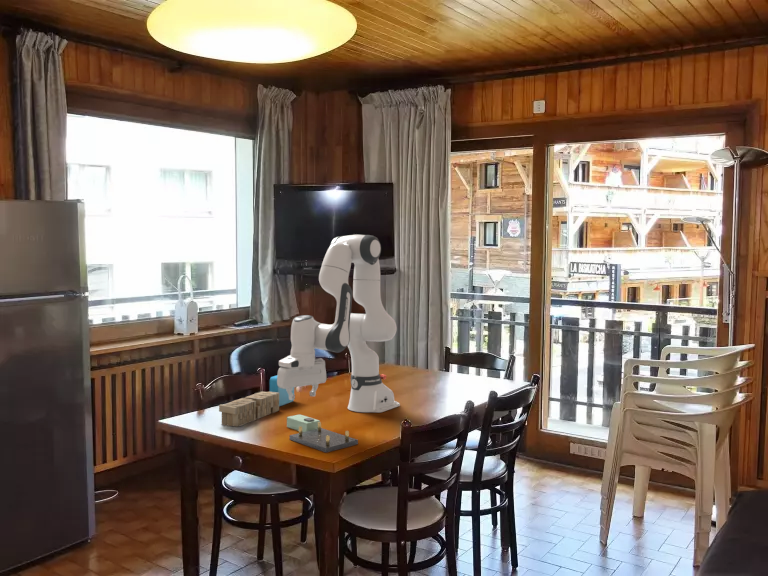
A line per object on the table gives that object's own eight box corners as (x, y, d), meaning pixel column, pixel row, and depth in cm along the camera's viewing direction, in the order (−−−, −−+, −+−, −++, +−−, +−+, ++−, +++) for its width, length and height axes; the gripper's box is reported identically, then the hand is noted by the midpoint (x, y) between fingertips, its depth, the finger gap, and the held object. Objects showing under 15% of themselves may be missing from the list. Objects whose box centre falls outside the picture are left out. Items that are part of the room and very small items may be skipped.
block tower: (263, 411, 292) (217, 425, 265) (263, 390, 291) (218, 403, 265) (279, 413, 288) (235, 428, 262) (280, 392, 288) (235, 405, 262)
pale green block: (299, 424, 268) (299, 412, 268) (319, 431, 260) (319, 418, 259) (286, 427, 264) (286, 415, 264) (306, 434, 256) (306, 421, 255)
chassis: (321, 432, 258) (321, 419, 257) (357, 444, 243) (358, 431, 243) (289, 439, 248) (289, 426, 248) (325, 452, 234) (326, 439, 233)
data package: (285, 399, 307) (285, 372, 306) (294, 401, 305) (294, 373, 304) (269, 405, 296) (269, 377, 295) (278, 407, 294) (278, 378, 293)
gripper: (319, 356, 269) (319, 392, 270) (274, 361, 255) (274, 400, 256) (330, 358, 265) (329, 395, 266) (285, 364, 251) (284, 402, 251)
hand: (302, 397), depth 261 cm, fingers open, 8 cm apart
